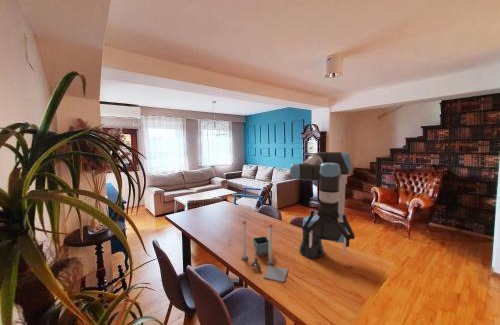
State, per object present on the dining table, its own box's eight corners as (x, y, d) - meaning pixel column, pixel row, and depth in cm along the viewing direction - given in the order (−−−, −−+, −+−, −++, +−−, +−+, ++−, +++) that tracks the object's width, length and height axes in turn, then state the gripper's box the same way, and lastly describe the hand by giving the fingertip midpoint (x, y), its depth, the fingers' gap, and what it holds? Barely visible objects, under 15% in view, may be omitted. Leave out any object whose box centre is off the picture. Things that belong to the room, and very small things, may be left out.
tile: (268, 266, 123) (268, 265, 123) (288, 270, 119) (288, 269, 119) (263, 278, 112) (263, 277, 112) (284, 282, 109) (284, 281, 109)
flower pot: (256, 258, 131) (256, 244, 130) (252, 251, 140) (252, 238, 139) (270, 256, 134) (270, 242, 133) (265, 249, 142) (265, 236, 141)
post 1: (242, 256, 133) (242, 218, 131) (248, 257, 132) (248, 219, 129) (240, 259, 130) (239, 220, 127) (246, 261, 128) (246, 221, 126)
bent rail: (255, 261, 128) (255, 256, 127) (264, 263, 126) (264, 258, 125) (250, 269, 120) (250, 264, 119) (259, 271, 118) (259, 266, 118)
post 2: (267, 261, 128) (267, 221, 125) (274, 262, 127) (274, 222, 124) (265, 264, 124) (266, 224, 122) (272, 266, 123) (272, 225, 120)
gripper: (296, 199, 90) (295, 247, 93) (363, 207, 79) (360, 261, 81) (300, 195, 97) (299, 239, 99) (362, 202, 85) (360, 252, 88)
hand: (326, 249), depth 90 cm, fingers open, 13 cm apart
